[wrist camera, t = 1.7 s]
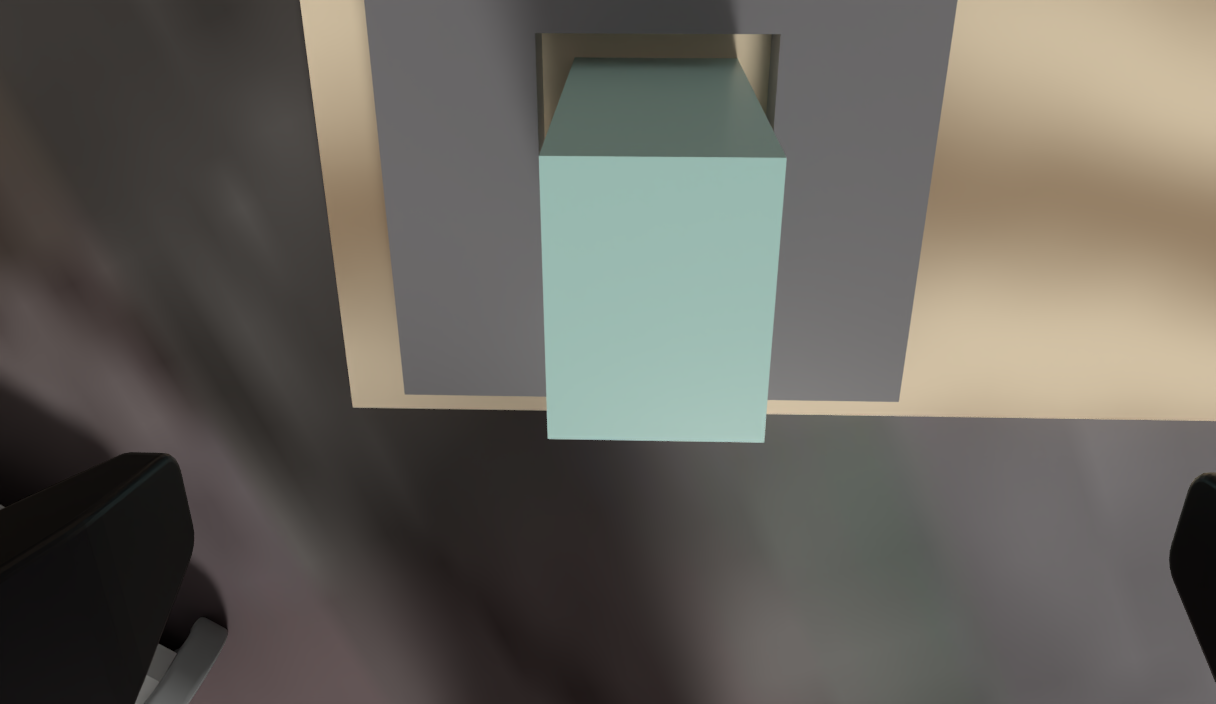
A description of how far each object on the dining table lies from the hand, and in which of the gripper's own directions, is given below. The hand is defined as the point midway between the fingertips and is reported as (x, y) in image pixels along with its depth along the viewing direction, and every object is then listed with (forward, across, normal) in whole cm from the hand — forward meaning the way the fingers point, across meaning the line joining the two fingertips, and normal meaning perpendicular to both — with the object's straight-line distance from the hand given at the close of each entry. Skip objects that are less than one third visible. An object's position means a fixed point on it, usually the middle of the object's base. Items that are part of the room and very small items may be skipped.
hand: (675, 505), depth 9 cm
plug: (+12, 0, 0) cm, 12 cm away
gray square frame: (+12, 0, 0) cm, 12 cm away
